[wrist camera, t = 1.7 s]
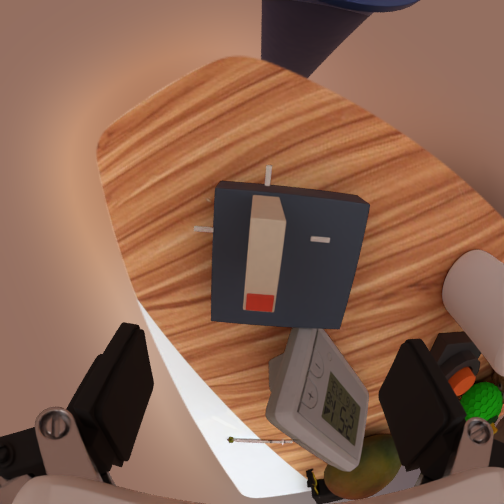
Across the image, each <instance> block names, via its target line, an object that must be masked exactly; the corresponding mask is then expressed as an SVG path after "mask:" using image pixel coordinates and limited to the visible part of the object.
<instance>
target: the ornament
mask: <svg viewBox="0 0 504 504" xmlns="http://www.w3.org/2000/svg"><path fill="white" fill-rule="evenodd" d="M502 401H503V397H502V393H501V391H500V390H499V388H498V387H497V386H495V385H494V384H493V383H490V382H486V381H485V382H479V384H478V383H477V384H474V385H473V386H471V388H470V389H469V390H467V391H466V392H465V394H463V396H462V399H461V400H460V403H461V405H462V406H463V408H464V410H465V412H466V414H467V416H466V417H465V420H466V421H467V420H468V419H470V418H472V417H480V418H483V419H485V420H486V421H487V422H488V423H489V424H490V425H491V427H492V429H493V433H494V434H495V433H496V432H497V431H498V429H497V428H496V427H495V424H494V423H495V422H496V421H497V419H498V415H499V414H500V412H501V408H502V406H503V403H502Z"/></svg>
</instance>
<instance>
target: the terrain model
mask: <svg viewBox="0 0 504 504" xmlns="http://www.w3.org/2000/svg"><path fill="white" fill-rule="evenodd" d="M496 428H497V429H498V431H497V432H496V433H495V434H494V437H493V438H494V439H496V440H498V441H500V442H503V443H504V417H503V418H502V419H501V420H500V421H499V423H498V424H497V426H496Z"/></svg>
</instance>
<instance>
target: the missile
mask: <svg viewBox="0 0 504 504" xmlns="http://www.w3.org/2000/svg"><path fill="white" fill-rule="evenodd" d="M227 440H228V441H229V443H233V442H234V441H236V442H252V443H282V445H283V443H292V442H293V441H292V440H245V439H233V437H229V439H227Z"/></svg>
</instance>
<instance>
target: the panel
mask: <svg viewBox="0 0 504 504" xmlns="http://www.w3.org/2000/svg"><path fill="white" fill-rule="evenodd" d="M271 171H272V165H266V176H265V184H256V183H244V182H230V181H220V183H219V184H218V185H217V186H216V188H215V198H214V220H213V227H203V226H194V231H198V232H211V233H213V247H212V285H211V321H217V322H227V323H238V324H250V325H263V326H278V327H295V328H317V329H340V326H341V323H342V319H343V316H344V312H345V309H346V306H347V302H348V298H349V295H350V291H351V287H352V283H353V280H354V276H355V272H356V268H357V264H358V259H359V255H360V251H361V247H362V242H363V237H364V233H365V228H366V223H367V218H368V213H369V208H370V204H369V203H367V202H366V201H364V200H363V199H362V198H360V197H359V196H357V195H351V194H344V193H337V192H329V191H322V190H314V189H305V188H296V187H287V186H277V185H270V181H271ZM253 195H262V196H272V197H279V198H280V201H281V205H282V208H283V212H284V215H285V219H286V229H285V237H284V245H283V252H282V260H281V267H280V274H279V281H278V288H277V295H276V302H275V309H274V312H263V311H250V310H243V302H244V290H245V278H246V266H247V254H248V242H249V230H250V218H251V209H252V199H253Z"/></svg>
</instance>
